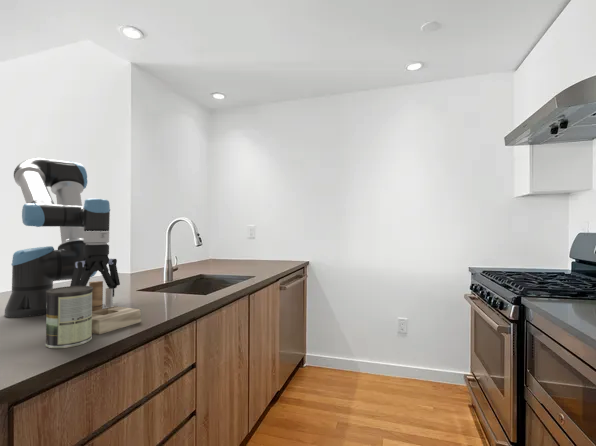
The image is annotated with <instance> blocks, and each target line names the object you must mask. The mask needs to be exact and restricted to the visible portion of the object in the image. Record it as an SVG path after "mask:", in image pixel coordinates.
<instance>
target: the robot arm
mask: <svg viewBox="0 0 596 446" xmlns="http://www.w3.org/2000/svg"><path fill="white" fill-rule="evenodd" d="M13 179H14V182H15V183H16V184H17V185H18V186H19V187H20V189H21V192H22V196H23V198H24V200H25V203H24V205H22V211H21V219H22V223H23V225H25V226H26V227H36V228H38V227H39V228H40V227H43V228H44V227H59V231H60V238H61V239H60V240H61V243H60V244H59V245H58V246H57V249H55V248H54V246H53V245H51V246H39V247H33V248H31V247H30V248H24V249H20V250H16V251H15V252H14V253H13V254H12V262H11V268H12V269H11V272H12V273H11V275H12V276H11V294H10V295H9V298H8V301H7V303H6V305H5V308H4V316H5V317H6V318H26V317H36V316H42V315H46V307H47V294H46V291H47V290H50V289H54V282H57V281H58V282H59V281H71V282H70V286H88V284H89V282H90V279H91V278H94V276H95V275H96V274H97V272H100V274H101V276H102V278H103V280H104V282H105V284H106V285H107V287H105V302H104V303H105V305H104V307H105V308H109V307H114V306H113V301H114V300H113V298H114V297H115V289H117V288H118V286H120V285H121V282H120V277H119V273H118V267H117V261H118V260H117V258H109V254H110V245H109V243H110V222H111V221H110V220H111V219H110V216H111V215H110V212H111V207H110V201H109V200H108V199H105V198H85V200H84V202H83V203H84V204H83V203H82V195H81V194H82V193H83V192H84V190H85V189H87V186H88V174H87V170H86V167H85V166H84V165H83V164H82V163H80V162H75V161H72V160H70V161H66V160H59V159H50V158H45V157H44V158H43V157H34V158H29V159H26V160H23V161H22V162H20V163H19V164H18V165H17V166H16V167H15V168H14V171H13ZM48 187H50V191H51V193H52V194H54V195H55V196H56V197H55V198H56V204H55V203H54V201H53V200H54V199H53V197H52V196H51V193H50V191H49V189H48ZM107 265H108V266H107Z"/></svg>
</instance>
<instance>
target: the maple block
mask: <svg viewBox="0 0 596 446" xmlns="http://www.w3.org/2000/svg"><path fill="white" fill-rule="evenodd" d="M141 311H142V310H141V309H139V308H131V307H124V306H118V305H116V306H115V305H114V306H113V307H105V308H103V309H101V310H96V311H92V334H95V335H104V334H105V333H109V332H113V331H116V330H119V329H122V328H123V329H124V328H125V327H129V326H132V325H135V324H139V323H141V319H142V318H141V317H142V314H141V313H142V312H141Z"/></svg>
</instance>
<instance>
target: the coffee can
mask: <svg viewBox="0 0 596 446" xmlns="http://www.w3.org/2000/svg"><path fill="white" fill-rule="evenodd" d="M92 290H93V287H91V286H89V285H86V286H60V287H55V288H54V287H53V289H50V290H47V291H46V294H47V307H46V314H45V316H46V319H45V323H46V325H45V347H46V348H48V349H57V350H58V349H66V348H73V347H77V346H81V345H84V344H87V343H89V342H90V341H91V340H92V339H93V336H92V334H93V333H92Z"/></svg>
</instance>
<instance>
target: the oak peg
mask: <svg viewBox="0 0 596 446" xmlns="http://www.w3.org/2000/svg"><path fill="white" fill-rule="evenodd" d="M88 286H91V287H93V290H92V311H96V310H101V309H104V308H103V305H104V304H103V301H104V298H103V297H104V295H103V293H104V281H103V280H96V281H95V280H93V281H88Z"/></svg>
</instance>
